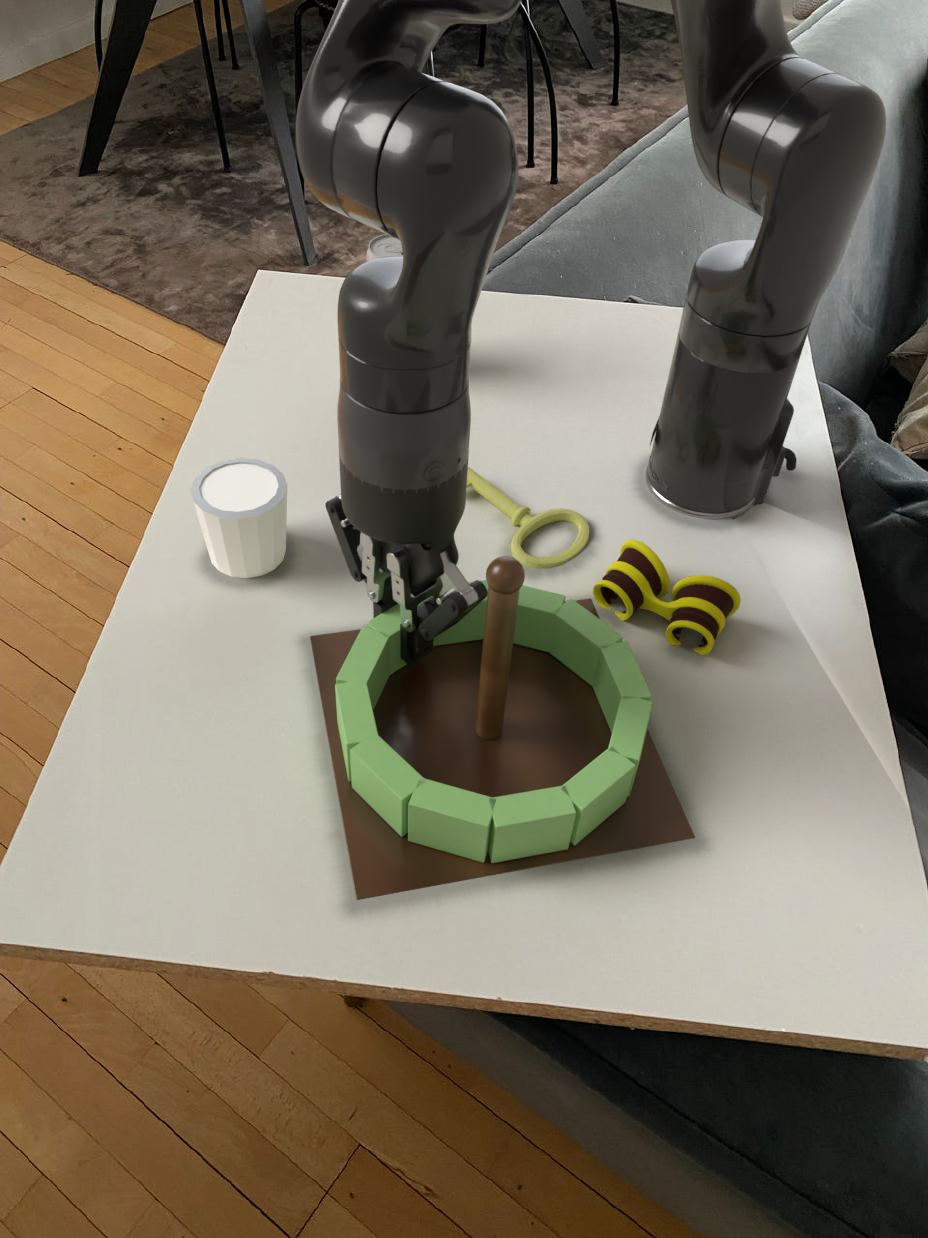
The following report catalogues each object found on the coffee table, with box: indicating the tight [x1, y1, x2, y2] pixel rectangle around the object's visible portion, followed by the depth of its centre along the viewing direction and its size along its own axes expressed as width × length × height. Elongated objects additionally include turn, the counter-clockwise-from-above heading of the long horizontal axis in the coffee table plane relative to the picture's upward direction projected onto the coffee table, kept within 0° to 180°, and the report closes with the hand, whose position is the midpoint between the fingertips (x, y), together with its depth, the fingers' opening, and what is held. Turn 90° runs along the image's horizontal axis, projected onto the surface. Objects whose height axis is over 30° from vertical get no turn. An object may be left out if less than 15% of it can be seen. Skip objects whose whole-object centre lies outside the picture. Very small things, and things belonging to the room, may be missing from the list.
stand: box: [309, 555, 696, 901], centre depth 64 cm, size 21×21×16 cm
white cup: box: [190, 457, 288, 579], centre depth 78 cm, size 7×7×7 cm
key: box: [466, 466, 590, 569], centre depth 83 cm, size 7×12×2 cm, turn 63°
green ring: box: [335, 579, 654, 863], centre depth 68 cm, size 20×20×4 cm
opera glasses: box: [592, 539, 741, 656], centre depth 76 cm, size 10×5×5 cm, turn 56°
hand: (402, 644), depth 73 cm, fingers closed on green ring, 2 cm apart
